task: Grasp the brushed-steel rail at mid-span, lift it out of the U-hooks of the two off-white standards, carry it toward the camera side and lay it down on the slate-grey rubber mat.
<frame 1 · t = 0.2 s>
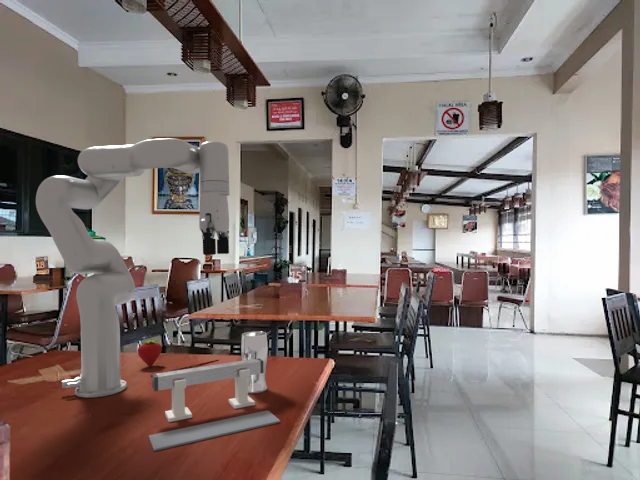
hand: (216, 254, 116), 37 cm above the table, tool pointing down, fingers open, 9 cm apart
steel rail: (210, 379, 104), point 7 cm above the table, touching standard left, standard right
standard left: (178, 416, 100), on the table
chopstick: (187, 370, 140), on the table
mat: (216, 429, 93), on the table
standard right: (241, 403, 108), on the table
strawberry: (150, 366, 144), on the table
silver metal cup: (255, 390, 118), on the table
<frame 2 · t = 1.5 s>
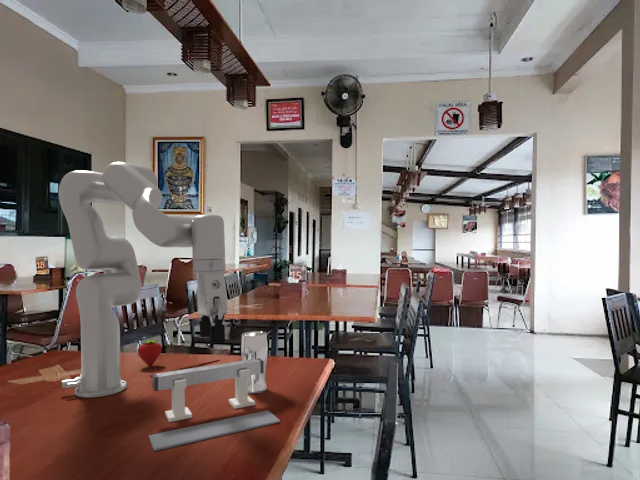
hand: (212, 339, 104), 17 cm above the table, tool pointing down, fingers open, 9 cm apart
nothing on the table moved.
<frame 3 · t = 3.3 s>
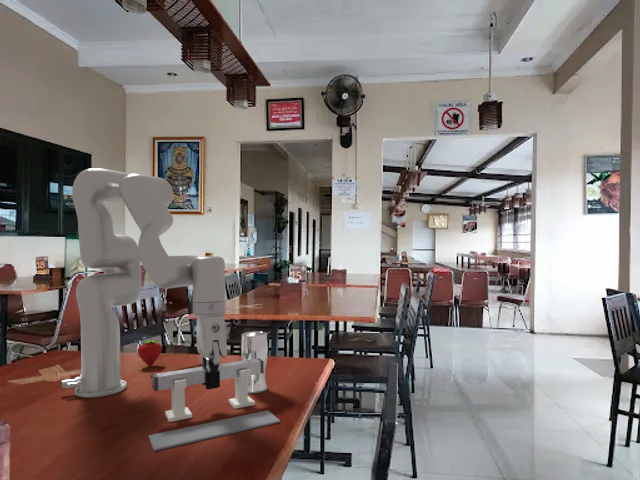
hand: (210, 385, 104), 6 cm above the table, tool pointing down, fingers closed on steel rail, 3 cm apart
steel rail: (210, 379, 104), point 7 cm above the table, touching gripper, standard left, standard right
everything else where it was.
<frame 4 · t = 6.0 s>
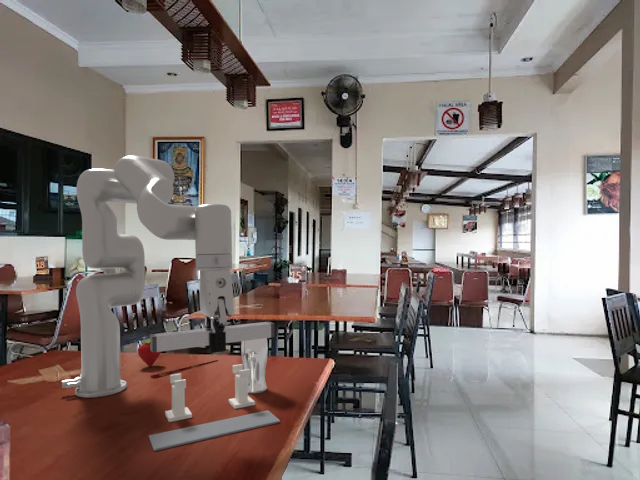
hand: (215, 349, 93), 17 cm above the table, tool pointing down, fingers closed on steel rail, 3 cm apart
steel rail: (215, 342, 93), point 18 cm above the table, touching gripper
everything else where it was.
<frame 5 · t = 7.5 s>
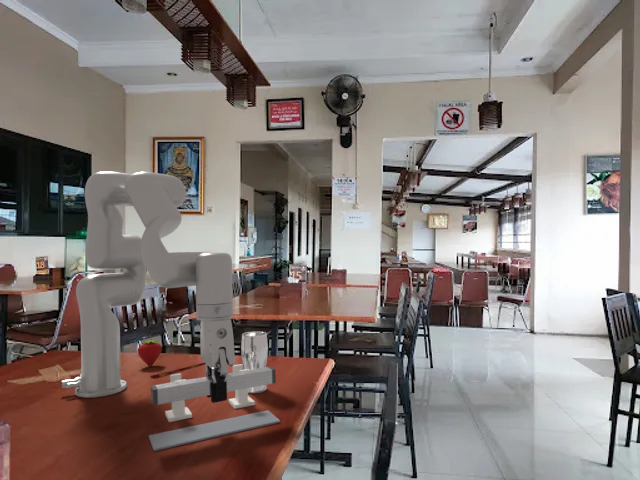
hand: (216, 397, 93), 7 cm above the table, tool pointing down, fingers closed on steel rail, 3 cm apart
steel rail: (216, 391, 93), point 8 cm above the table, touching gripper
everything else where it was.
when the fingers open (1 cm above the table, at t = 8.9 s): steel rail drops 2 cm, resting on mat.
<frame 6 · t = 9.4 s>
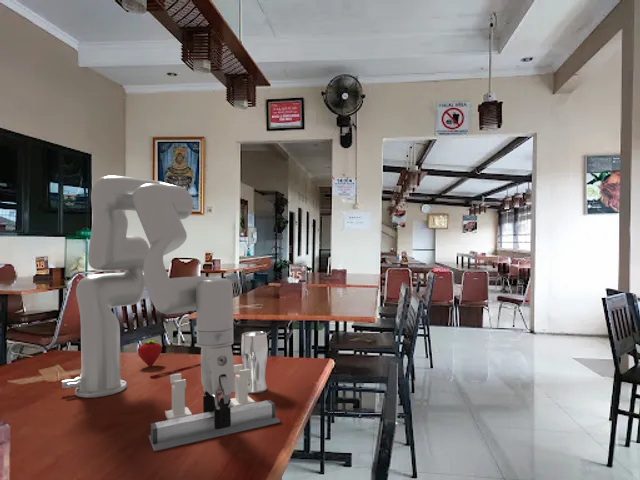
hand: (216, 419, 93), 2 cm above the table, tool pointing down, fingers open, 8 cm apart
steel rail: (216, 427, 93), resting on mat
everything else where it was.
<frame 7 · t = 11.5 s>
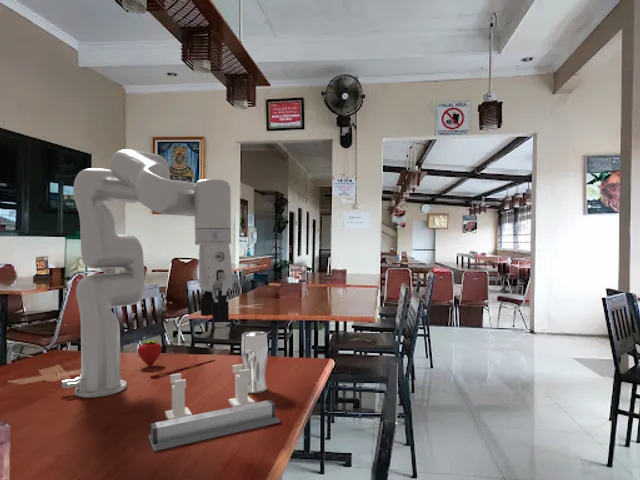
hand: (214, 318, 93), 23 cm above the table, tool pointing down, fingers open, 9 cm apart
nothing on the table moved.
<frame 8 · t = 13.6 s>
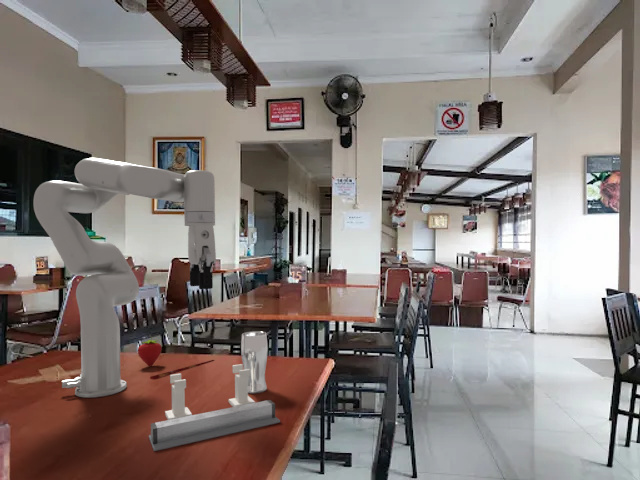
hand: (200, 287, 111), 28 cm above the table, tool pointing down, fingers open, 9 cm apart
at the end: steel rail inside the target area on the mat (0.2 cm from its centre), point 0.4 cm above the mat's base; the gripper is holding nothing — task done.
